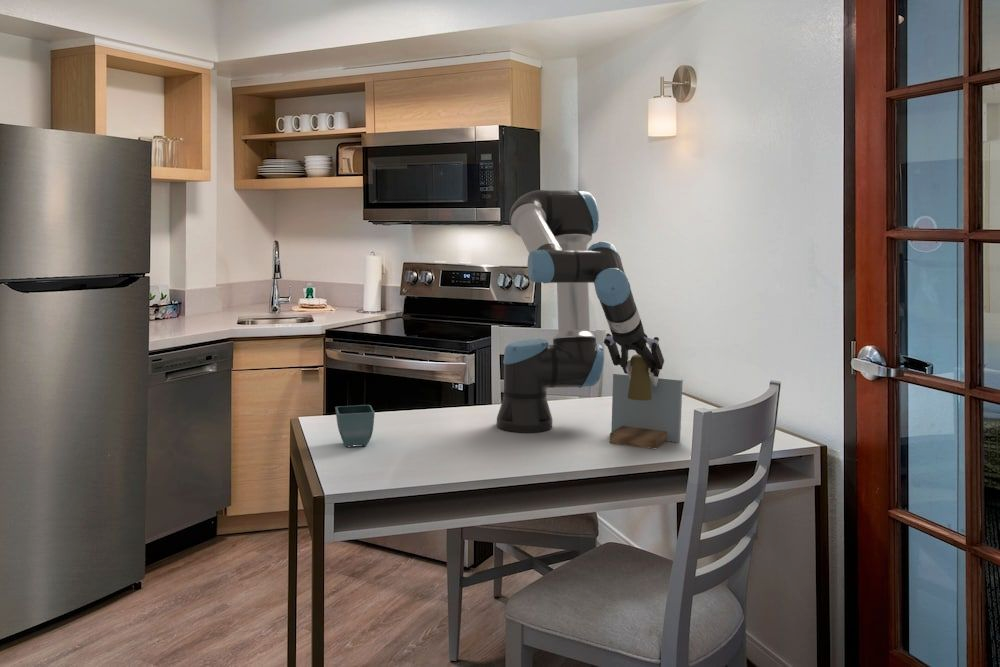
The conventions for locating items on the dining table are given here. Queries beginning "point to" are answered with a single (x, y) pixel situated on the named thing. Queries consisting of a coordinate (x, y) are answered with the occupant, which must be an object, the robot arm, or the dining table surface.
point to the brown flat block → (638, 436)
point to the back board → (648, 406)
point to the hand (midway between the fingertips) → (645, 380)
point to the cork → (639, 379)
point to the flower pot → (355, 424)
